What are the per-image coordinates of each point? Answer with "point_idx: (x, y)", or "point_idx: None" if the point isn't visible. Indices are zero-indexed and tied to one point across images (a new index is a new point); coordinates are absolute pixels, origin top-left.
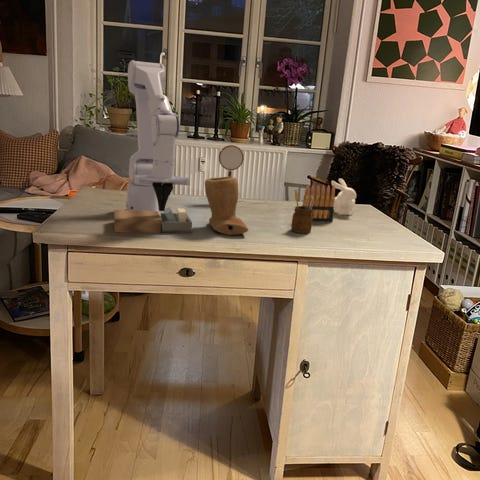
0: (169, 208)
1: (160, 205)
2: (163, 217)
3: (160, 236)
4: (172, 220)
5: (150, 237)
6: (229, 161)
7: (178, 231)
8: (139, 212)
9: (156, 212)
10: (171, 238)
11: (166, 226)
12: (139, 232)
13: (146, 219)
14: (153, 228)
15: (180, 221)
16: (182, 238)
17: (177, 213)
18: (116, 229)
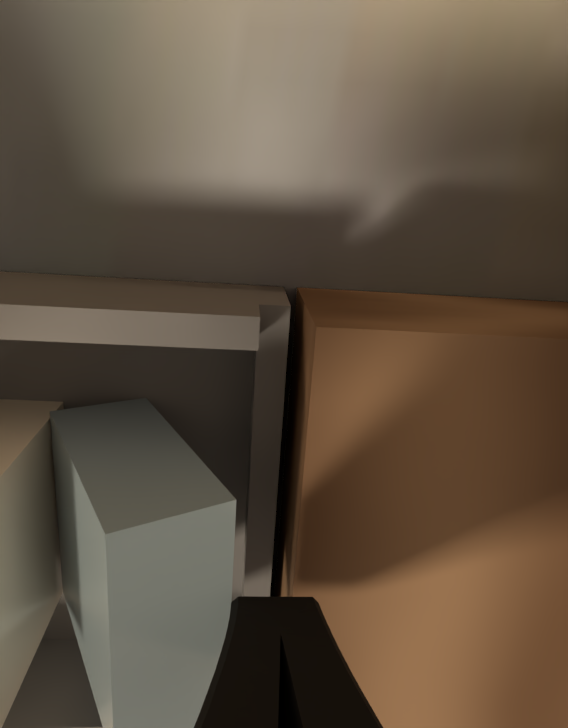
0: (129, 695)
1: (321, 664)
2: None
3: (327, 131)
4: (122, 441)
5: (460, 88)
6: None
7: (73, 279)
8: (525, 689)
9: None
10: (198, 24)
11: (229, 301)
12: (535, 302)
13: (538, 361)
14: (396, 304)
15: (4, 439)
16: (43, 16)
17: (16, 647)
18: None
